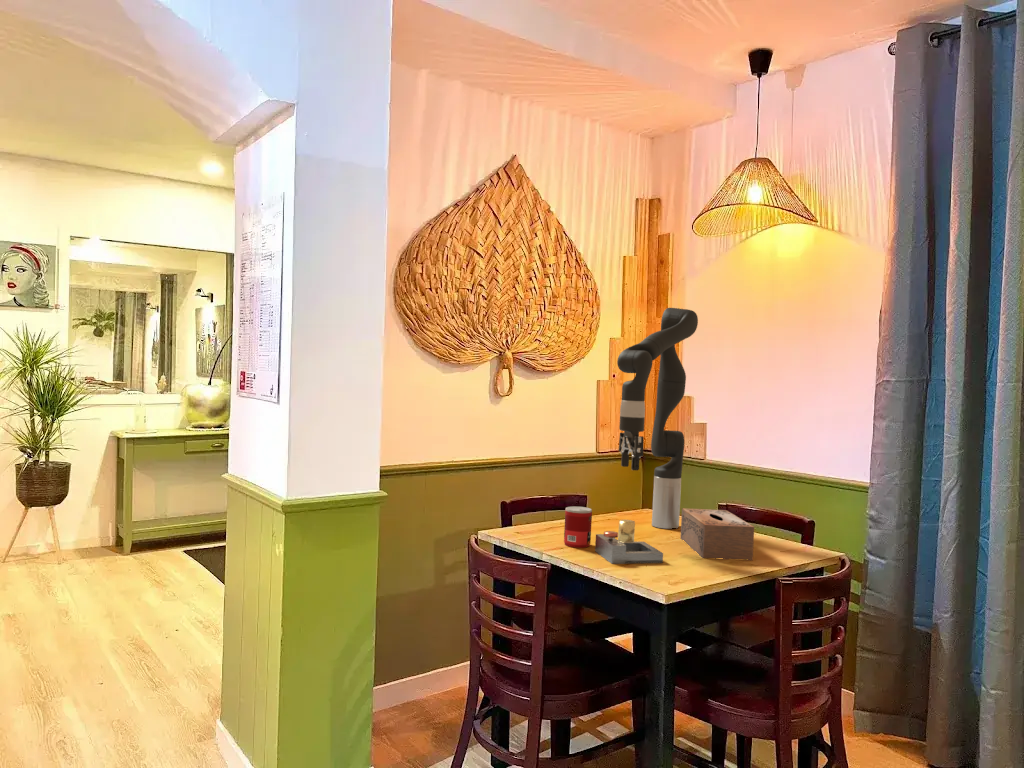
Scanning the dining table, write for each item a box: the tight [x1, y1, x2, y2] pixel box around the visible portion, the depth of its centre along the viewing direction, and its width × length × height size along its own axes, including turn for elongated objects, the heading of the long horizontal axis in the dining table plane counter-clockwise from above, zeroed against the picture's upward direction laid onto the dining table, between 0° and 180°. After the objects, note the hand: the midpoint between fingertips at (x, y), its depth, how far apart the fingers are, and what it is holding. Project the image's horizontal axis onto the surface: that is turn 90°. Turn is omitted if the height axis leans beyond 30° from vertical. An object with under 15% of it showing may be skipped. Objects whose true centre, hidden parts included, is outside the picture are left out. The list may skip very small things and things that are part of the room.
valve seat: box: [594, 530, 664, 565], centre depth 218 cm, size 14×15×7 cm
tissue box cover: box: [680, 508, 755, 561], centre depth 233 cm, size 26×14×10 cm, turn 2°
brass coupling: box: [617, 519, 636, 542], centre depth 235 cm, size 5×5×7 cm
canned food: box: [563, 506, 593, 549], centre depth 230 cm, size 8×8×11 cm
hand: (629, 468), depth 234 cm, fingers open, 8 cm apart
